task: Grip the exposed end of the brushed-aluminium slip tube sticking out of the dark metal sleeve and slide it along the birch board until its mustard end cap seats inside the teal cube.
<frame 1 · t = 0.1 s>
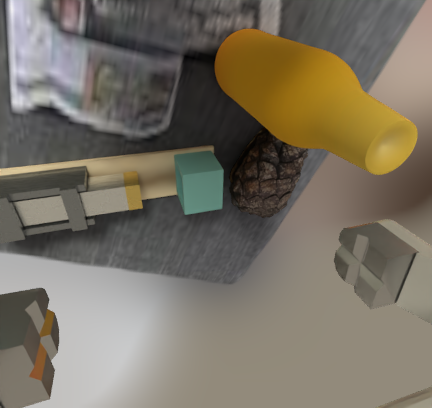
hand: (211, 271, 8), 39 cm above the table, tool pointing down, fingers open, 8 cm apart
pine cone: (258, 154, 54), on the table
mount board: (108, 180, 48), on the table
beer bottle: (242, 63, 44), on the table
sleeve: (41, 189, 46), resting on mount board
teal cube: (192, 169, 51), resting on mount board
slip tube: (68, 199, 44), point 4 cm above the table, slide at 0.0 cm
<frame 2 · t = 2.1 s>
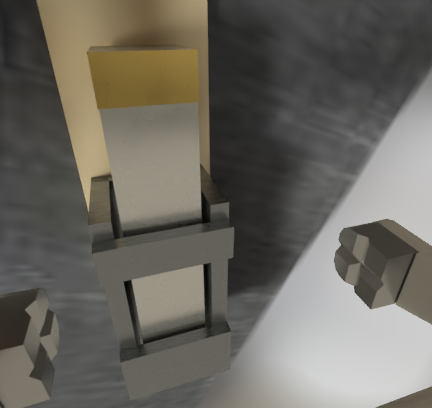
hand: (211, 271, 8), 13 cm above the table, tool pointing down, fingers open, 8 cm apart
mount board: (142, 127, 19), on the table
sleeve: (157, 250, 23), resting on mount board
slip tube: (161, 237, 18), point 4 cm above the table, slide at 0.0 cm
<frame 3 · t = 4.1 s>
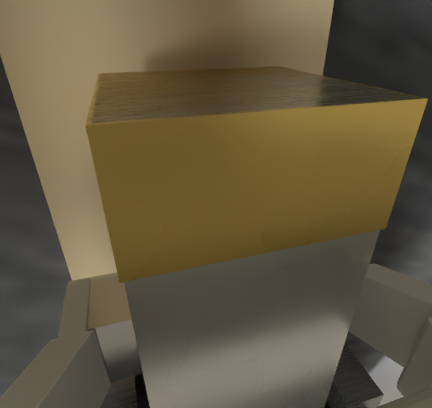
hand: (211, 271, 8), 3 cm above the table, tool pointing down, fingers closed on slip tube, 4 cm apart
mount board: (188, 205, 11), on the table
sleeve: (197, 370, 15), resting on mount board
slip tube: (221, 407, 10), point 4 cm above the table, slide at 0.0 cm, touching gripper
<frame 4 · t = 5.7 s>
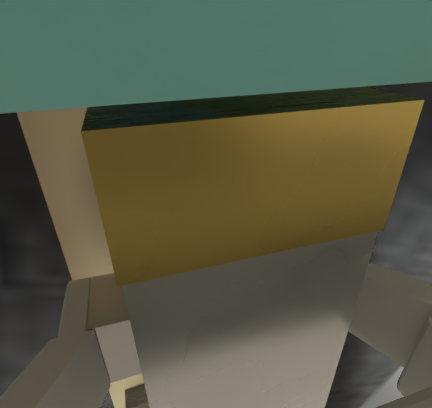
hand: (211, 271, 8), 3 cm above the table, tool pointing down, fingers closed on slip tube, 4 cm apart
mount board: (195, 315, 13), on the table
slip tube: (223, 407, 10), point 4 cm above the table, slide at 5.5 cm, touching gripper
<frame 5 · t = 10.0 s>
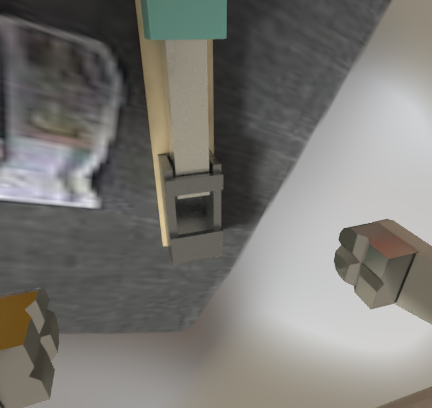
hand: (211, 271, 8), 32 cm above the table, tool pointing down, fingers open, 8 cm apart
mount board: (181, 130, 39), on the table
sleeve: (185, 196, 44), resting on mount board
teal cube: (174, 5, 33), resting on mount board
slip tube: (186, 110, 34), point 4 cm above the table, slide at 9.0 cm
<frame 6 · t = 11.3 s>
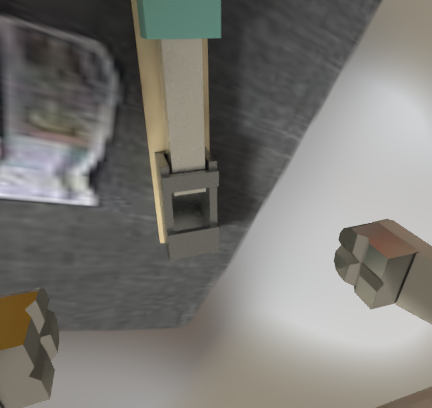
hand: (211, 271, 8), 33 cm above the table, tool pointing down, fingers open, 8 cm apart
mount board: (177, 128, 40), on the table
sleeve: (182, 193, 45), resting on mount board
teal cube: (169, 5, 33), resting on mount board
slip tube: (182, 108, 35), point 4 cm above the table, slide at 9.0 cm
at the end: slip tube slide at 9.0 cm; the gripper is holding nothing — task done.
